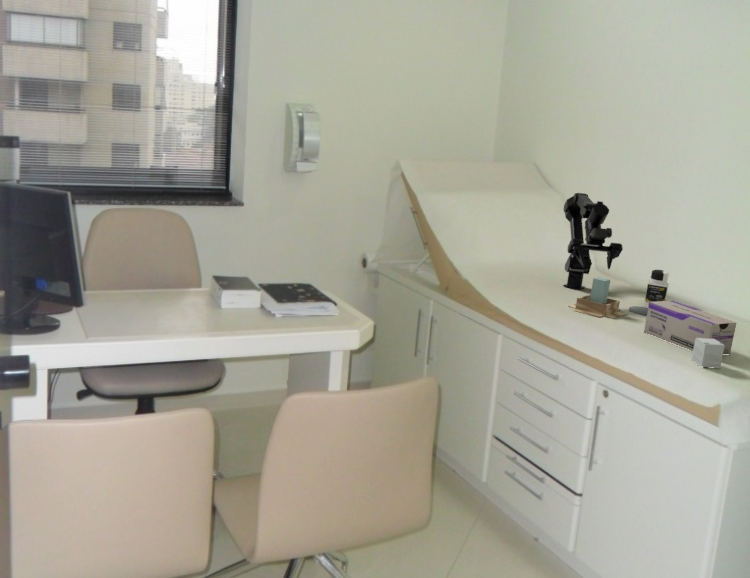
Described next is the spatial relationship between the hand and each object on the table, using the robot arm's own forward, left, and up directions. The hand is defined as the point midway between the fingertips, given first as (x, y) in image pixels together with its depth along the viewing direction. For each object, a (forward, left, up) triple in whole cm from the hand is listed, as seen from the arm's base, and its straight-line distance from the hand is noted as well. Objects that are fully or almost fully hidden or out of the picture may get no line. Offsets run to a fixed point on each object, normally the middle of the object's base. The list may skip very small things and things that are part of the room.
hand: (596, 267), depth 296 cm
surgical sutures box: (+18, +41, -14) cm, 47 cm away
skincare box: (+35, +53, -14) cm, 65 cm away
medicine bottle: (-30, +12, -14) cm, 35 cm away
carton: (+6, +5, -14) cm, 16 cm away
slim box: (+6, +5, -14) cm, 16 cm away
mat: (-9, +16, -14) cm, 23 cm away
